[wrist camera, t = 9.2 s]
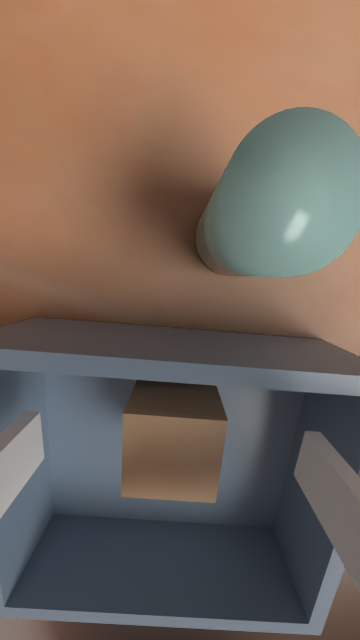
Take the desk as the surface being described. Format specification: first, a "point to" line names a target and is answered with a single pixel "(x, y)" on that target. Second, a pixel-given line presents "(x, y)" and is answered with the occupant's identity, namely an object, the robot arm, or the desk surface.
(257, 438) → the tote
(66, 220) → the desk surface
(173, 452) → the walnut cube
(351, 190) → the teal cylinder
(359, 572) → the robot arm
